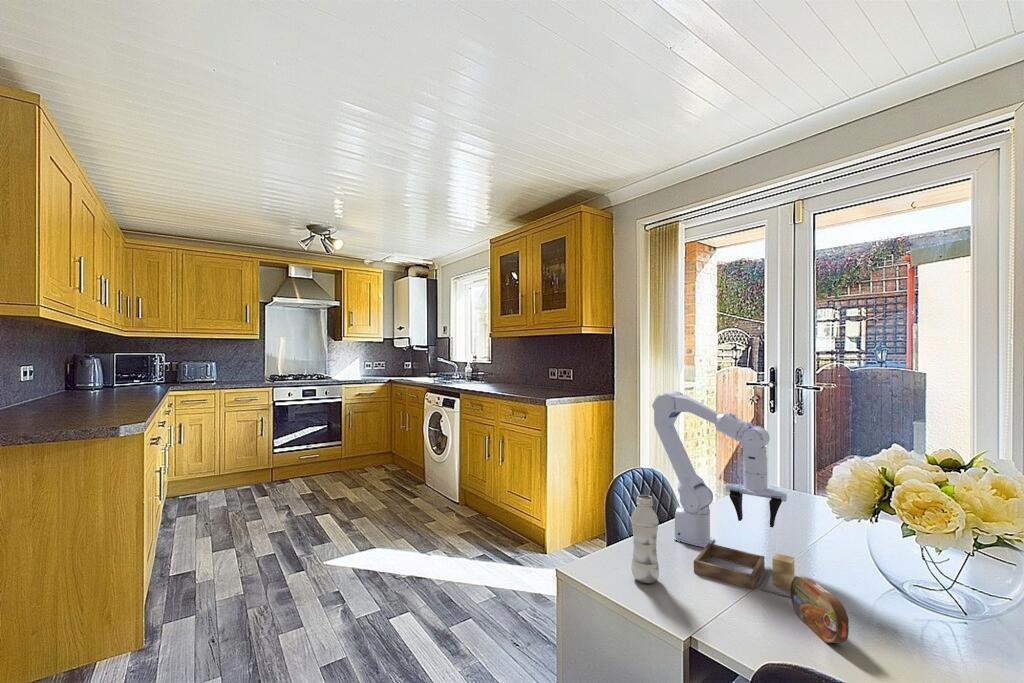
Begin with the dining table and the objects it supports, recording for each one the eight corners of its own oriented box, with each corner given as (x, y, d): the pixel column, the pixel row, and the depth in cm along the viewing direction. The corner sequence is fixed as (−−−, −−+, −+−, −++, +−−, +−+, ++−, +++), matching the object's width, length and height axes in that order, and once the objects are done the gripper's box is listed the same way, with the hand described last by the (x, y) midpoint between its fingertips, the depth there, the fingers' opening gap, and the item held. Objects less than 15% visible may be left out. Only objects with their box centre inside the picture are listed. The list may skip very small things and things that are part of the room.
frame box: (693, 572, 116) (693, 560, 116) (708, 554, 127) (708, 543, 127) (754, 589, 108) (753, 576, 108) (764, 568, 118) (764, 556, 118)
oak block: (772, 584, 109) (772, 558, 109) (775, 578, 112) (775, 553, 113) (792, 589, 107) (792, 563, 107) (794, 583, 110) (794, 557, 110)
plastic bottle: (645, 589, 108) (644, 503, 108) (625, 577, 114) (625, 495, 114) (665, 583, 111) (664, 499, 111) (645, 571, 117) (644, 491, 117)
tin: (789, 608, 100) (788, 569, 100) (803, 608, 100) (803, 569, 100) (835, 653, 85) (834, 607, 85) (853, 654, 85) (852, 607, 85)
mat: (760, 589, 108) (760, 588, 108) (769, 570, 117) (769, 569, 117) (800, 601, 103) (800, 599, 103) (806, 580, 112) (806, 578, 112)
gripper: (722, 470, 126) (723, 521, 126) (783, 479, 117) (784, 533, 117) (729, 465, 132) (729, 514, 131) (787, 474, 123) (788, 525, 122)
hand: (755, 522), depth 124 cm, fingers open, 7 cm apart
